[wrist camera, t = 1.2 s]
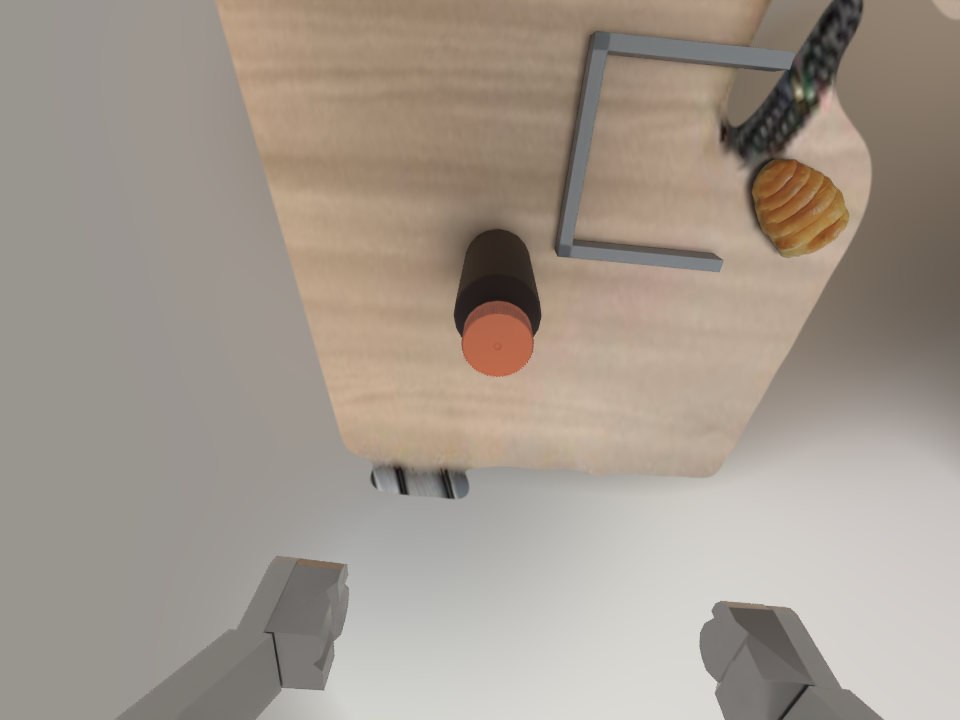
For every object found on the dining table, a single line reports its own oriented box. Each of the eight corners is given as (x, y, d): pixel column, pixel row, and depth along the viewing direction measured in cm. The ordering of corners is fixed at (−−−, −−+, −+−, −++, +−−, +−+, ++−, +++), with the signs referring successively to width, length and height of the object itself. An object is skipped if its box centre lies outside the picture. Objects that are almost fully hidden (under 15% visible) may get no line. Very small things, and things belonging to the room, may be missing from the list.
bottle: (452, 267, 50) (428, 355, 32) (490, 214, 47) (486, 278, 29) (503, 303, 51) (506, 405, 34) (542, 254, 49) (569, 336, 31)
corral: (590, 35, 40) (596, 31, 37) (779, 55, 40) (795, 52, 38) (554, 249, 48) (557, 256, 46) (709, 264, 49) (719, 272, 46)
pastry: (727, 193, 45) (744, 200, 42) (793, 136, 42) (816, 139, 39) (781, 259, 48) (801, 270, 44) (846, 209, 45) (872, 218, 42)
